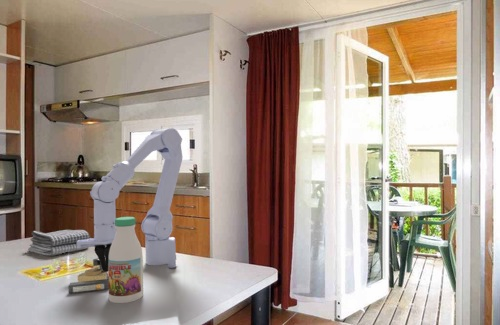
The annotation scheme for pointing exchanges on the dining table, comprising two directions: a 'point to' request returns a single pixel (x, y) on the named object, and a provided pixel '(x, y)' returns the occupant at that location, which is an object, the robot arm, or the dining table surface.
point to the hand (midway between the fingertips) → (105, 271)
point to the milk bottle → (125, 263)
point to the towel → (57, 242)
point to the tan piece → (93, 272)
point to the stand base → (88, 286)
